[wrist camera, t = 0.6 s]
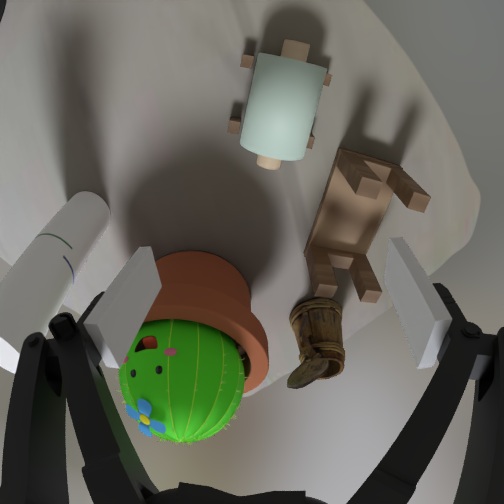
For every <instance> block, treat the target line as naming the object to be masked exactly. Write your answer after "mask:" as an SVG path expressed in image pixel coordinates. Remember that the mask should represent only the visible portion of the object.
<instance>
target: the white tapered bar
mask: <svg viewBox="0 0 504 504" xmlns="http://www.w3.org/2000/svg"><path fill="white" fill-rule="evenodd" d="M110 221H111V214H110V210H109V208H108V206H107V204H106V202H105V201H104V200H103V199H102V198H101V197H100V196H98V195H97V194H95V193H92V192H88V191H81V192H78V193H77V194H75V195H74V196H73V197H72V198H71V199H70V200H69V201H68V202H67V203H66V204H65V205H64V206H63V207H62V208H61V210H60V211H59V212H58V213H57V214H56V215H55V216H54V217H53V218H52V219H51V221H50V222H49V223H48V224H47V225H46V226H45V227H44V228H43V230H42V231H41V232H40V233H39V234H38V235H37V237H36V238H35V239H34V240H33V241H32V243H31V244H30V245H29V246H28V248H27V249H26V250H25V251H24V253H23V254H22V255H21V256H20V258H19V259H18V260H17V261H16V263H15V264H14V265H13V267H12V268H11V269H10V271H9V272H8V273H7V275H6V276H5V278H4V279H3V280H2V282H1V283H0V366H1V367H2V368H4V369H6V370H8V371H10V372H12V373H16V369H17V364H18V360H19V356H20V352H21V349H22V345H23V342H24V340H25V339H26V338H27V336H29V335H30V334H32V333H35V332H41V333H42V334H43V335H44V337H45V336H46V334H47V332H48V330H49V327H48V325H49V322H50V320H51V319H52V318H53V317H54V316H56V314H57V312H58V311H59V309H60V307H61V305H62V303H63V301H64V299H65V298H66V296H67V294H68V292H69V290H70V289H71V287H72V285H73V283H74V282H75V280H76V278H77V276H78V275H79V273H80V271H81V270H82V268H83V266H84V265H85V263H86V261H87V260H88V258H89V256H90V255H91V253H92V251H93V250H94V248H95V247H96V245H97V244H98V242H99V240H100V239H101V237H102V236H103V234H104V233H105V231H106V230H107V228H108V227H109V224H110Z"/></svg>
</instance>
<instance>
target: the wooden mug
mask: <svg viewBox="0 0 504 504" xmlns="http://www.w3.org/2000/svg"><path fill="white" fill-rule="evenodd" d="M289 320H290V324H291V329H292V331H293V332H294V333H295V337H296V340H297V343H298V347H299V350H300V355H299V360H300V362H301V365H300V366H299V367H297V368H296V369H295V370H294V371H293V372H292V374H291V375H290V377H289V378H288V382H287V387H288V388H293V389H298V388H303V387H305V386H306V385H308V384H310V383H312V382H313V381H315V380H316V379H318V380H319V379H329V378H331V377H334V376H337V375H338V374H340V373H341V372H342V371H343V369H344V361H345V350H344V348H343V341H342V326H341V321H342V310H341V308H340V306H339V305H338V304H337V303H336V302H334V301H332V300H330V299H326V298H317V299H312V300H309V301H306V302H304V303H302V304H300V305H299V306H297V307H296V308H295V309H294V310H293V312H292V313H291V315H290V317H289Z"/></svg>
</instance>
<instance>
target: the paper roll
mask: <svg viewBox="0 0 504 504" xmlns="http://www.w3.org/2000/svg"><path fill="white" fill-rule="evenodd" d="M309 48H310V45H309V44H306V43H303V42H299V41H294V40H289V39H284V43H283V48H282V52H281V56H277V55H271V54H266V53H260V52H259V53H258V57H257V62H256V66H255V71H254V76H253V80H252V85H251V90H250V94H249V99H248V104H247V109H246V114H245V119H244V124H243V129H242V134H241V139H240V144H241V146H242V147H244V148H245V149H247V150H249V151H251V152H253V153H256V154H258V158H257V162H256V163H257V164H258V165H259V166H261V167H263V168H266V169H272V170H277V169H279V168H280V164H281V160H291V161H294V160H300V159H302V158H303V157H304V154H305V150H306V147H307V143H308V139H309V136H310V132H311V128H312V125H313V121H314V117H315V114H316V110H317V106H318V102H319V99H320V95H321V91H322V87H323V84H324V80H325V76H326V72H327V68H324V67H321V66H318V65H314V64H310V63H307V62H306V60H307V56H308V52H309Z"/></svg>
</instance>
